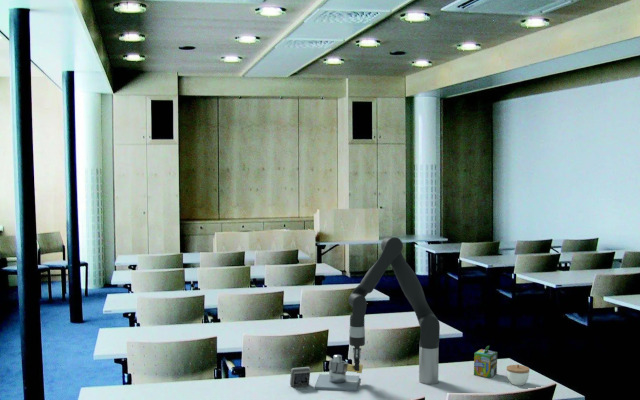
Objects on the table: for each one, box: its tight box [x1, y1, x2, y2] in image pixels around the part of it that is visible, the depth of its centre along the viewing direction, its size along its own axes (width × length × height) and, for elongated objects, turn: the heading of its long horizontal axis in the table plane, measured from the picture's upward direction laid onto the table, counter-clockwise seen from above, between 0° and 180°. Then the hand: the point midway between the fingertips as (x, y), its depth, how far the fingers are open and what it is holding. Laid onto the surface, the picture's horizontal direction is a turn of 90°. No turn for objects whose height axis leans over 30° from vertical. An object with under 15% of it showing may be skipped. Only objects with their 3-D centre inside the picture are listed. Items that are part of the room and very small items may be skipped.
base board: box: [314, 358, 360, 392], centre depth 347 cm, size 20×20×10 cm
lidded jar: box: [506, 364, 530, 387], centre depth 348 cm, size 11×11×9 cm
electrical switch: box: [289, 366, 311, 388], centre depth 343 cm, size 9×5×9 cm, turn 107°
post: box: [328, 354, 347, 384], centre depth 347 cm, size 8×8×12 cm
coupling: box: [328, 359, 364, 374], centre depth 347 cm, size 16×8×4 cm, turn 101°
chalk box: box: [473, 345, 498, 379], centre depth 362 cm, size 9×9×15 cm
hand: (357, 370), depth 345 cm, fingers closed
